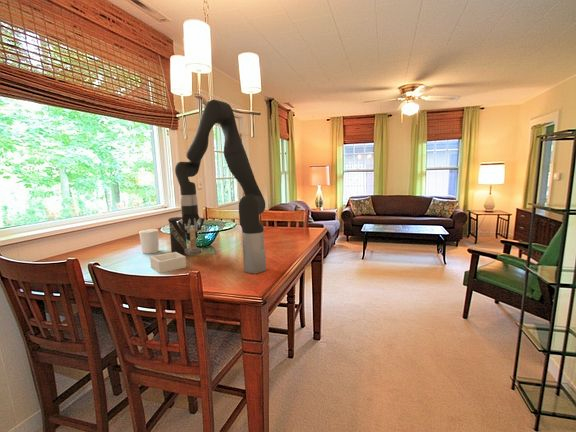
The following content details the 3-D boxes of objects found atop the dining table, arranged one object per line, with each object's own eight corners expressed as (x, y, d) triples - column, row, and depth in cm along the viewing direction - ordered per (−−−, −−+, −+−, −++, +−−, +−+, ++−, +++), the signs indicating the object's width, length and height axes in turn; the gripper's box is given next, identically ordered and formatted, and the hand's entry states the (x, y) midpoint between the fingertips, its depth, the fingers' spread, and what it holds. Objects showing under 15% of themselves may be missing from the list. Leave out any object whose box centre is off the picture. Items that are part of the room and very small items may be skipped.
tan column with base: (201, 252, 146) (199, 228, 144) (189, 255, 142) (187, 230, 140) (196, 250, 151) (194, 227, 149) (184, 253, 147) (182, 228, 145)
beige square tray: (186, 267, 139) (185, 256, 138) (159, 273, 131) (158, 262, 130) (176, 261, 148) (175, 251, 147) (150, 267, 140) (149, 256, 139)
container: (169, 256, 157) (166, 218, 154) (171, 252, 166) (168, 216, 163) (187, 255, 159) (184, 217, 157) (188, 250, 168) (185, 215, 165)
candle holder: (155, 253, 163) (153, 232, 161) (137, 254, 163) (135, 232, 162) (163, 249, 173) (161, 228, 171) (146, 249, 173) (144, 229, 171)
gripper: (177, 206, 136) (181, 243, 138) (206, 203, 145) (209, 238, 147) (171, 205, 141) (174, 241, 144) (199, 202, 150) (202, 236, 153)
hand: (192, 239), depth 145 cm, fingers closed on tan column with base, 2 cm apart
